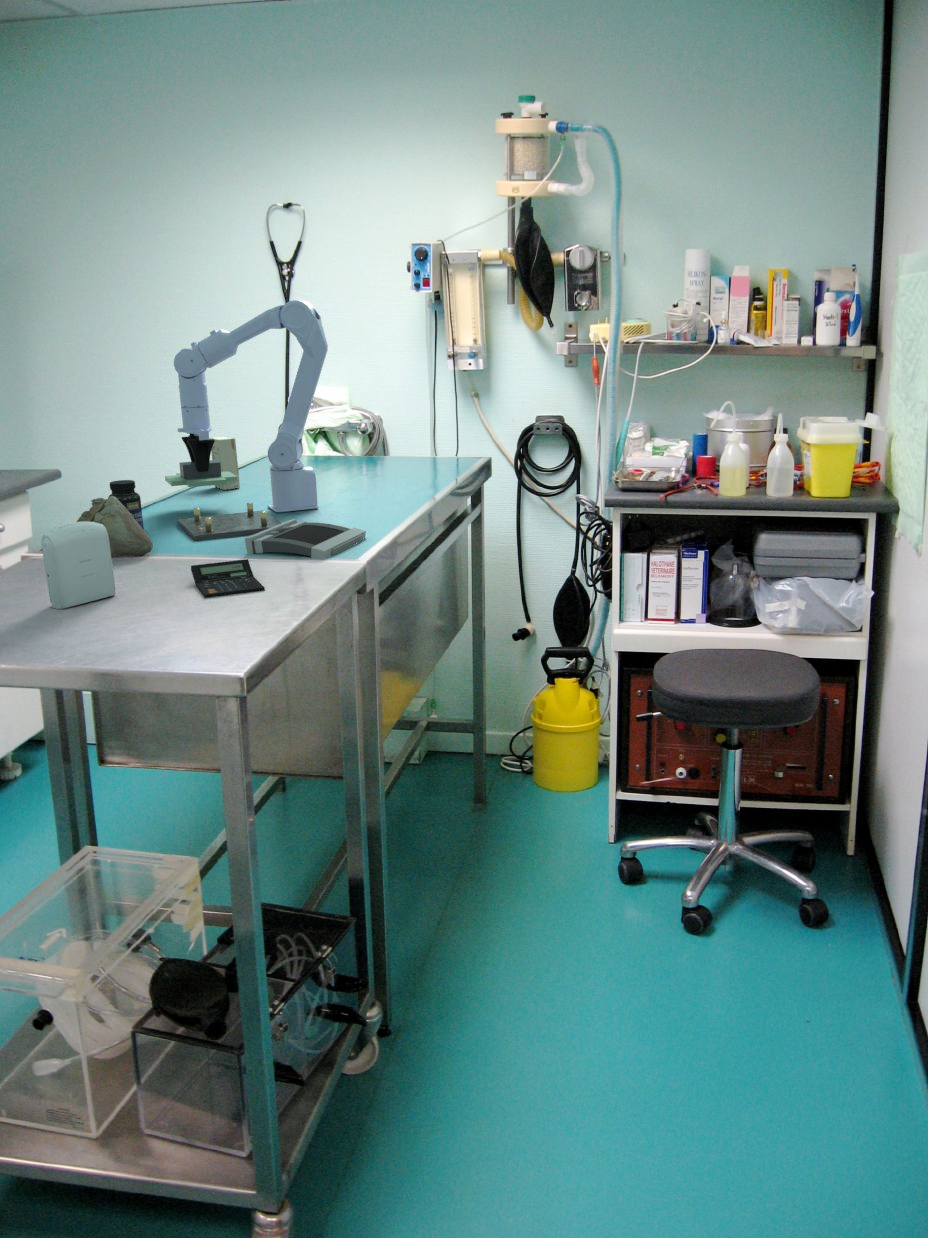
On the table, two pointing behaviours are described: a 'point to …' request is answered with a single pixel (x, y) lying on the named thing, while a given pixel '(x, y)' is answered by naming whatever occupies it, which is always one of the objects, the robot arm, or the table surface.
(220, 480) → the circuit board
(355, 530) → the grey curved panel device
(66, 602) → the photo printer
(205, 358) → the robot arm
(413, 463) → the table surface
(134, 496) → the pill bottle
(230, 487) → the skincare box
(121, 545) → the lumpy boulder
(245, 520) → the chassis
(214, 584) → the calculator
